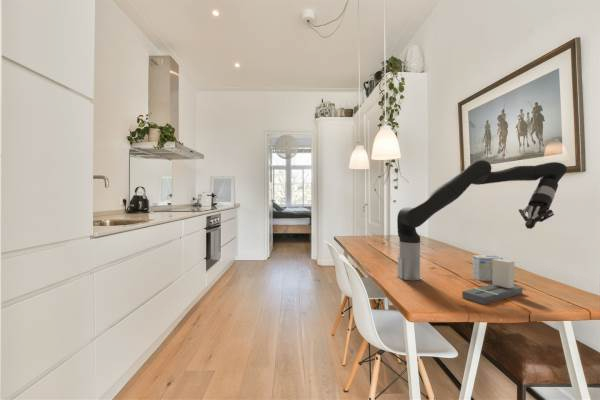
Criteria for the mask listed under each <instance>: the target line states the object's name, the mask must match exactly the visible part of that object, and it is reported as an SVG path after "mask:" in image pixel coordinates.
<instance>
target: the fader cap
mask: <svg viewBox="0 0 600 400" xmlns="http://www.w3.org/2000/svg"><path fill="white" fill-rule="evenodd" d="M491 284H493V285H497V286H501V287H505V288H512V287H514V286H515V261H512V260H509V259H504V258H503V259H493V271H492V281H491Z"/></svg>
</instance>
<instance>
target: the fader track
mask: <svg viewBox="0 0 600 400" xmlns="http://www.w3.org/2000/svg"><path fill="white" fill-rule="evenodd" d="M461 293H462V295H461V297H462V299H465V300H469V301H471V302H475V303H478V304H481V305H487V304H490V303H494V302H498V301H502V300H505V299H509V298H511V297H515V296H519V295H522V294H523V287H522V286H518V285H514V287H512V288H505V287H501V286H497V285H493V284H492V283H491V284H488V285H484V286H480V287H472V288H471V289H466V290H463V291H462V292H461Z"/></svg>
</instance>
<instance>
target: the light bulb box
mask: <svg viewBox="0 0 600 400" xmlns="http://www.w3.org/2000/svg"><path fill="white" fill-rule="evenodd" d="M493 259H503V260H504V258H503V257H500V256H497V255H484V254H483V255H481V254H480V255H476V254H475V255H474V254H473V255H472V278H473V279H476V280H477V281H480V282H481V281H482V282H485V281H486V282H492V271H493Z"/></svg>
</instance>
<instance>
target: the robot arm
mask: <svg viewBox="0 0 600 400" xmlns="http://www.w3.org/2000/svg"><path fill="white" fill-rule="evenodd" d="M567 171H568V168H567V166H566V165H565V164H564V163H561V162H557V161H555V162H554V161H553V162H546V163H541V164H540V163H539V164H536V165H516V166H512V167H508V168H505V169H502V170H497V171H492V165H491V163H490V162H489V161H486V160H483V159H482V160H481V159H480V160H476V161H473V162H472V163H471V164H469V165H468V166H467V167H466V168H465V169H463V170H462V171H461V172H459V174H457V175H455V176H453V177H452V178H450V179H449V180H447V181H446V182H444V183H443V184H441V185H440V186H438V187H437V188H435V189H434V190H433V191H432V192H431V193H430V195H429V197H428V198H427V199H426V200H425V201H424V202H422V203H420V204H418V205H417V206H414V207H402V208H401V209H400V210H399V211H398V212H397V213H398V214H397V218H396V220H397V221H396V223H397V224H396V225H397V235H398V238H399V245H398V246H399V251H398V252H399V253H398V255H399V256H398V257H397V277H398V278H400V280H404V281H405V280H406V281H413V282H414V281H419V280H421V236H420V235H419V234H418V232H417V229H416V228H418V227H420V226H422V225H423V224H424V223H425V222H427V221H428V220H429V219H430V218H431V217H432V216H434V215H435V214H436V213H438V212H440V211H441V210H442V209H444V208H445V207H447V206H448V205H450V204H451V203H453V202H454V201H455V200H457V199H458V198H459V197H461V196H462V194H464V192H465V191H466V190H468V188H469V187H470V186H471V185H476V186H477V185H488V184H495V183H503V182H514V181H515V182H517V181H518V182H519V181H521V182H524V181H527V182H530V181H537V180H539V181H538V184H537V186H536V188H535V190H534V191H533V193H532V195H531V197H530V198H529V201H528V204H527V206H525V208H524V209H522V208H519V209H518V212H519V214H520V216H521V217H522V218H523V220H524V221H525V223H524V225H525V227H526V229H527V230H528V229H530V230H532V229H533V228H535V226H536V224H537V223H538V222H540V223H542V222H544V221H545V220H548V219H549V218H551V217H553V216H555V213H554V212H553V210H552V209H550V208H551V206H552V203H553V201H554V199H555V196H556V195H555V194H556V193H557V190H558V188H559V182H560V180H561V179H562V178H563V177H564V175H565V174H566V173H567Z"/></svg>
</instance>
